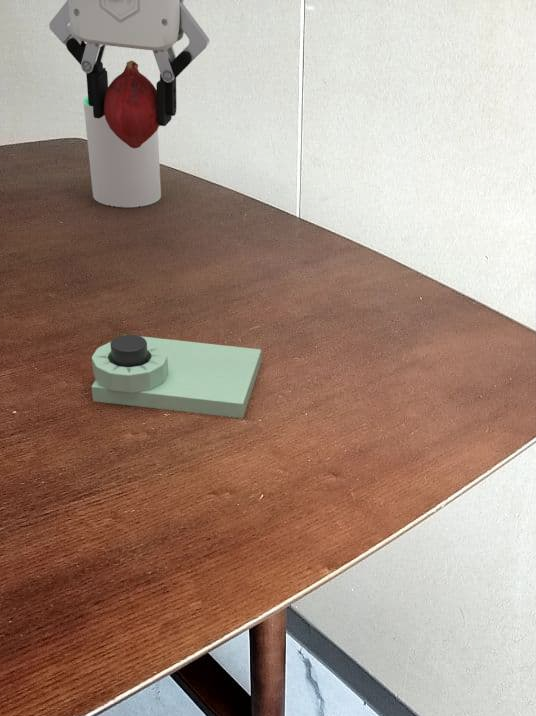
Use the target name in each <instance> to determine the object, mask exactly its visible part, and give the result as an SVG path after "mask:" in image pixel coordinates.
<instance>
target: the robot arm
mask: <svg viewBox="0 0 536 716" xmlns="http://www.w3.org/2000/svg"><path fill="white" fill-rule="evenodd" d="M48 25H49V29H50V31H51V32H52V33H53V35H54V36H55V37H56V38H58V40H59V41H60V42H61V43H62V44H63V45H64V46H65V47H66V49H67V51H68V53H70V54H71V56H72V57H73V58H74V59H75V60H76V62H77V63H78V64H79V65H80V68H81V70H82V71H83V72H84V73H85V76H86V90H87V97H88V103H89V106H93V115H94V118H101V117H103V116H104V115H105V114H104V99H105V94H106V91H107V89H108V87H109V79H108V78H109V77H108V70H107V69H106V67H104V66H103V65H104V63H103V59H104V56H105V52H106V48H107V46H108V47H119V48H127V49H136V50H145V51H152V53H153V57H154V59H155V62H156V65H157V68H158V70H159V80H158V81H157V82H156V85H155V86H156V87H155V89H156V90H157V122H158V124H159V125H160V126H159V127H166V126H167V125H168V124H169V123H170V122H171V120H172V117H174V116H176V114H177V77H178V76H179V75H181V73H182V72H183V71H184V70H185V69H186V68H187V67H188V66H189V65H190V64H191V63H192V62H193V61H194V60H195V59H196V58H197V57H198V56H199V55H201V53H202V52H203V51H204V50H205V49H207V47H208V46H210V38H209V37H208V35H207V34H206V32H205V31H204V30H203V29H202V27H201V26H200V25H199V23H198V22H197V20H196V19H195V17H194V16H193V15H192V14H191V13H190V11H189V10H188V9H187V7H186V6H185V1H184V0H66V1H65V3H64V4H63V5H62V6H61V8H60V9H59V11H58V12H57V13H56V14H55V15H54V17H53V18H52V19H51V20H50V21H49V24H48ZM184 34H185V35H186V37H187V39H188V45H187V46H186V47H185V48H183V50H182V51H181V52H180V53H178V54H177V55H176V52H175V49H174V45H175V44H176V43H177V42H179V41H181V40H182V39H183V37H184Z"/></svg>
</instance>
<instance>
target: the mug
mask: <svg viewBox="0 0 536 716" xmlns="http://www.w3.org/2000/svg"><path fill="white" fill-rule="evenodd" d="M83 111H84V120H85V129H86V130H85V131H86V139H87V141H86V142H87V148H88V149H87V151H88V160H89V161H88V162H89V170H90V179H91V180H90V182H91V191H92V198H93V200H95V201H96V202H97V203H100V204H101V205H105V206H109V205H110V206H109V207H114V206H115V208H138V207H139V206H140V207H145V206H149V205H153V204H155V203H157V202H158V201H160V199H161V198H162V186H161V168H160V149H159V148H160V147H159V128H158V129H157V131H156V132H155V133H154V134H153V135H152V136H151V137H150V138H149V139H148V140H147V141H145V142H144V143H143V144H142V145H141V146H140V147H139V148H131V147H130V146H129V145H127V144H126V143H125V142H123V141H122V140H121V139H120V138H118V137H117V136H116V135H115V133H114V132H113V131H112V130H111V129H110V127H109V125H108V123H107V121H106V119H105V115H104V116H103V117H101V118H94V115H93V106H89V103H88V96H86V97H84V99H83ZM140 207H139V208H140Z"/></svg>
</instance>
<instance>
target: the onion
mask: <svg viewBox="0 0 536 716" xmlns="http://www.w3.org/2000/svg"><path fill="white" fill-rule="evenodd" d="M104 114H105V119H106V121H107V123H108V125H109V127H110V129H111V130H112V131H113V132H114V133H115V135H116V136H117V137H118V138H120V139H121V140H122V141H123V142H125V143H126V144H127V145H129V146H130V147H131V148H139V147H140V146H141V145H142V144H143V143H144V142H145V141H147V140H148V139H149V138H150V137H151V136H152V135H153V134H154V133H155V132H156V131H157V129H158V130H159V127H161V126H160V125H159V124H158V122H157V88H156V87H155V86H154V84H153V83H152V82H151V80H149V78H148V77H146V76H145V75H143V74H142V73H141V72H140V71H139V64H138V63H136V61H134V60H132V59H131V60H129V61H126V65H125V68H124V70H123V72H122V73H120V74H119V75H117V76H116V77H115V78H113V80H112V81H111V82H110V84H108V89H107V91H106V94H105V99H104Z"/></svg>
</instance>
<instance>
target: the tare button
mask: <svg viewBox="0 0 536 716" xmlns="http://www.w3.org/2000/svg"><path fill="white" fill-rule="evenodd" d="M140 336H141V335H138V334H137V335H136V334H122V335H117V336H116V337H114V338H113V339H112V340H110V342H111V343H110V342H109V343H110V346H111V356H112V362H113V364H115V365H117V366H120V367H135V366H142V365H144V364H146V363H147V361H148V352H147V342H146V340H145V339H144V338H143V337H144V336H142V337H140Z"/></svg>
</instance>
